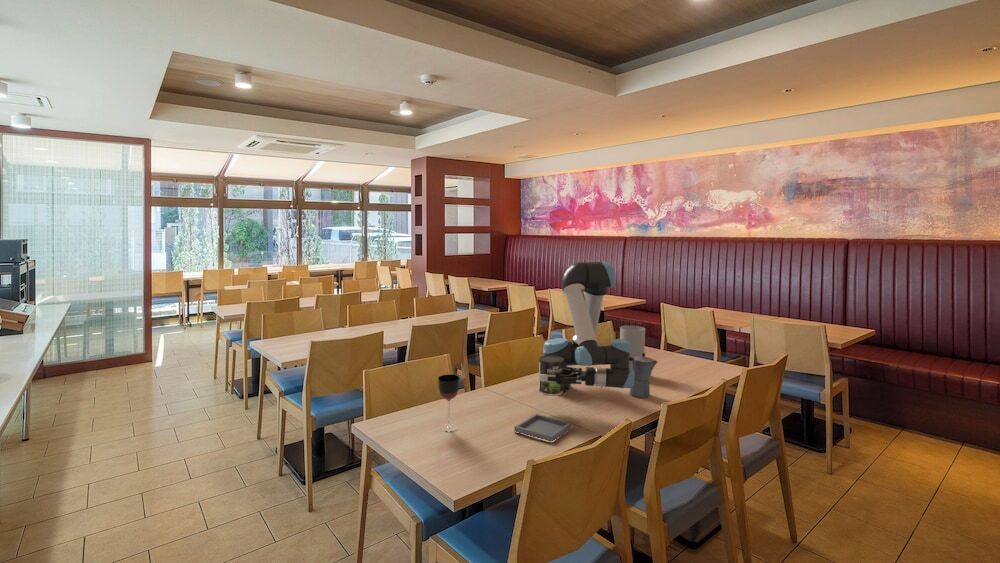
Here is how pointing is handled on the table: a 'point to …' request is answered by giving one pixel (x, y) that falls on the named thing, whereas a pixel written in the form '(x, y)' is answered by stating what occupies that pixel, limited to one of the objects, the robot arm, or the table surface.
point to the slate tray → (543, 427)
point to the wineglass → (448, 389)
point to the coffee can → (550, 367)
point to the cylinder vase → (634, 340)
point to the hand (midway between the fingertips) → (540, 373)
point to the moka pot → (642, 375)
